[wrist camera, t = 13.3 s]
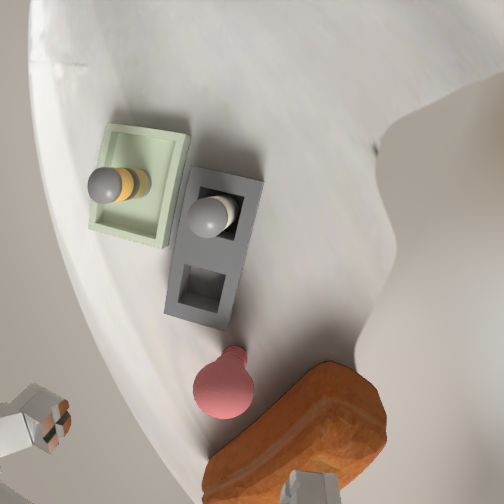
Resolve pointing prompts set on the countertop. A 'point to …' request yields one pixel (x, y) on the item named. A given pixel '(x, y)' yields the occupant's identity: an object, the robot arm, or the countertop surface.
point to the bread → (301, 438)
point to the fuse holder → (211, 250)
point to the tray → (162, 189)
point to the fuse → (212, 215)
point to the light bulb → (224, 385)
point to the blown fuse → (118, 184)
